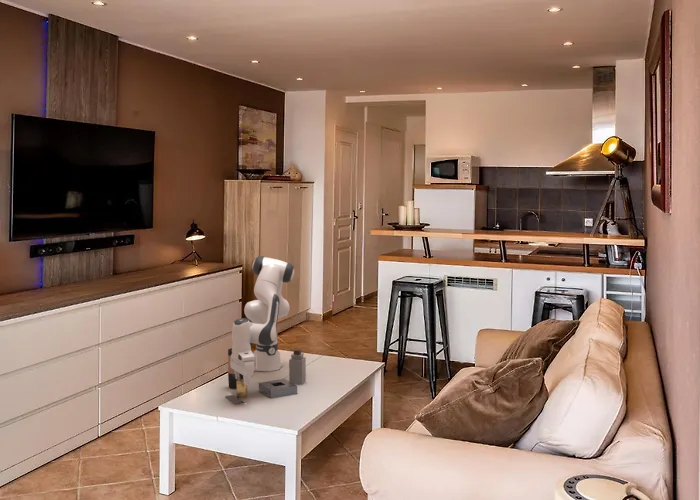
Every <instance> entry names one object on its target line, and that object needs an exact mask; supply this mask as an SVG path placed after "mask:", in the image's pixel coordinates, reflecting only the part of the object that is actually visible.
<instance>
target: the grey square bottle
mask: <svg viewBox="0 0 700 500" xmlns="http://www.w3.org/2000/svg"><path fill="white" fill-rule="evenodd" d="M304 354H305V353H304V352H302V348H299V349H298V348H295V349H294V350H293V353H292V354H290V358H289V360H288V361H289V362H288V367H289V368H288V376H289V378H288V381H290V382H292V383H293V384H295V385H300V386H302V385H304V383H306V382H307V381H306V378H307V377H306V375H307V373H306V371H307V370H306V369H307V368H306V367H307V366H306V365H307V364H306V363H307V360H306V359H307V358H306V357H305V356H304Z"/></svg>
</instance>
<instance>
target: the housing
mask: <svg viewBox="0 0 700 500" xmlns="http://www.w3.org/2000/svg"><path fill="white" fill-rule="evenodd" d="M258 392H260V393H262V394H263V395H265V396H267V397H268V398H269V399H275V398H279V397H287V396H291V395H298V384H293V383H292V382H290V381H289V379H286V378H280V379H273V380H268V381H261V382H258Z"/></svg>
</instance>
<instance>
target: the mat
mask: <svg viewBox="0 0 700 500" xmlns="http://www.w3.org/2000/svg"><path fill="white" fill-rule="evenodd" d="M224 397H225V399H226V398H227V400H228V401H229V402H231V403H232V404H234V405H240V404H246V402H245V401H244V400H243V399H240V398H237V395H235V394H229V395H224Z"/></svg>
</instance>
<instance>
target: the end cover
mask: <svg viewBox="0 0 700 500" xmlns="http://www.w3.org/2000/svg"><path fill="white" fill-rule="evenodd" d="M243 381H244V378H243V379H240V380H237V389H236V397H237V398H239V399H241V400H244V399H248V395H249V394H248V384H247V385H245V384H243Z"/></svg>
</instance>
